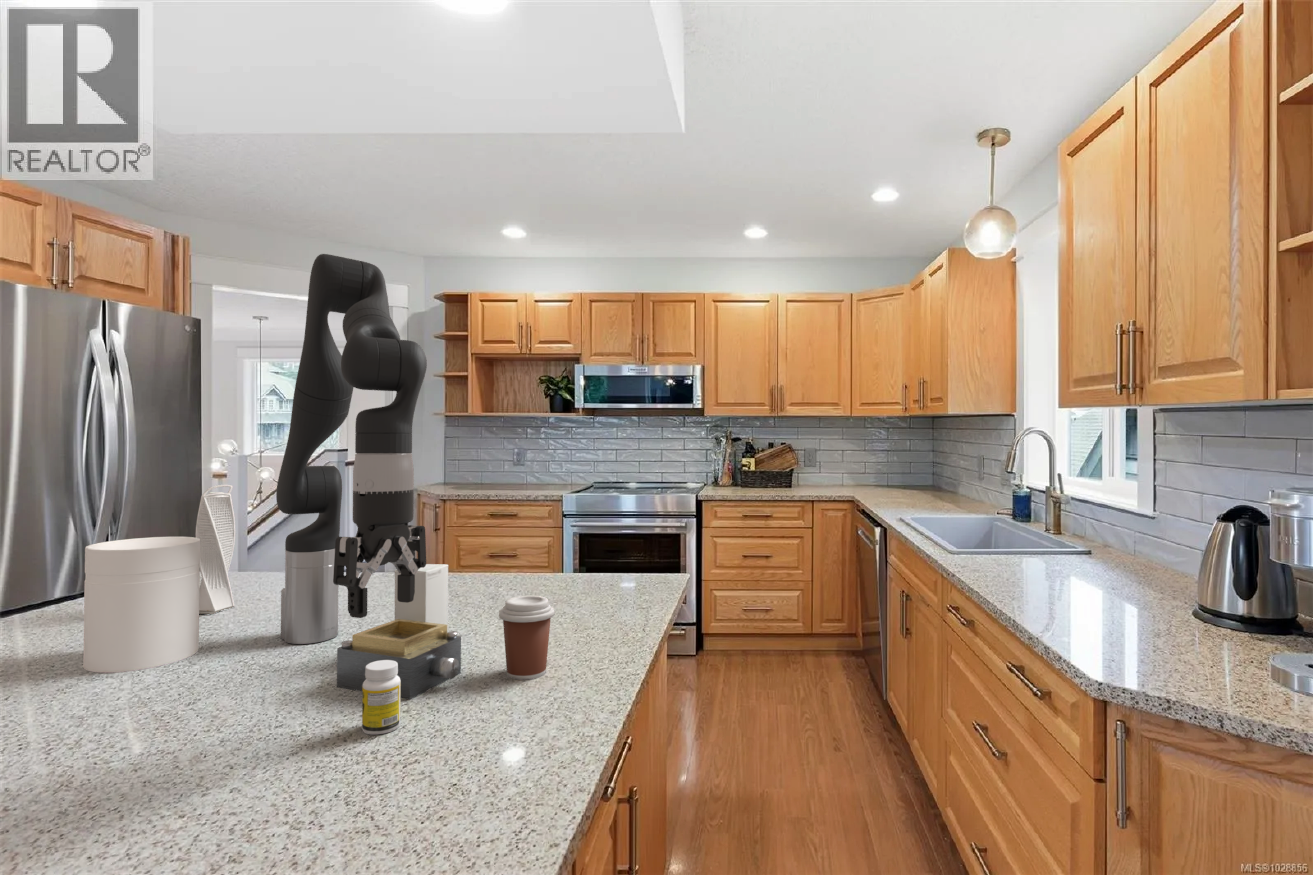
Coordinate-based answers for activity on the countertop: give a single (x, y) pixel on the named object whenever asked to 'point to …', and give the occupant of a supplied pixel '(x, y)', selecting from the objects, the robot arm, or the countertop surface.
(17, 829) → the countertop surface
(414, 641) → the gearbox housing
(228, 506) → the skyscraper
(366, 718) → the supplement bottle
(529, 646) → the coffee cup
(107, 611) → the canister
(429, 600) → the skincare box
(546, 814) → the countertop surface
